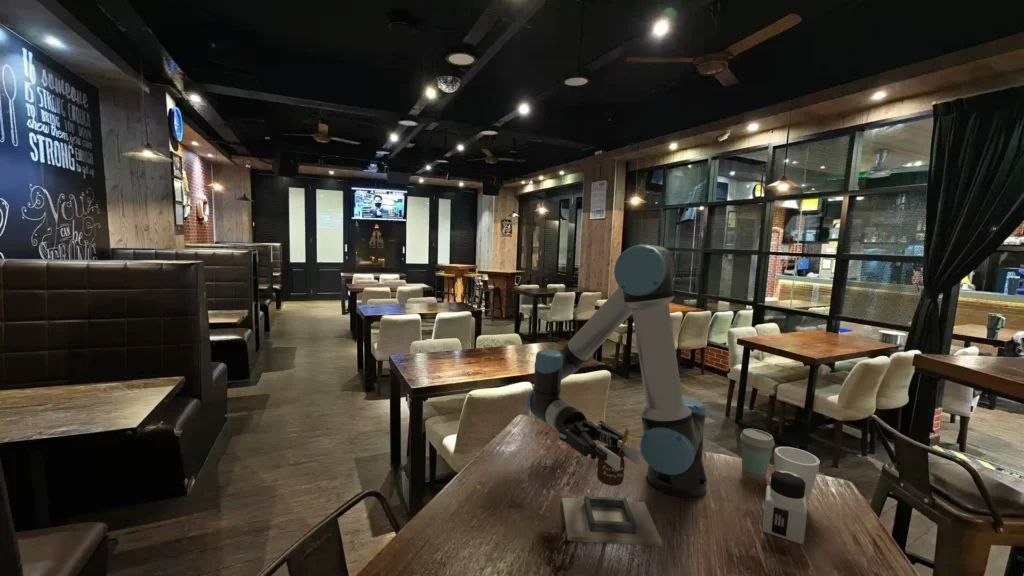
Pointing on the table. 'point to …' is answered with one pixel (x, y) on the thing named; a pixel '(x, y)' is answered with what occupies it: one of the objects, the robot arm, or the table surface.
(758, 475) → the coffee cup
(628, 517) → the collar board
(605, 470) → the utensil holder
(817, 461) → the foam cup
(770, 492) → the container
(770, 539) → the table surface
